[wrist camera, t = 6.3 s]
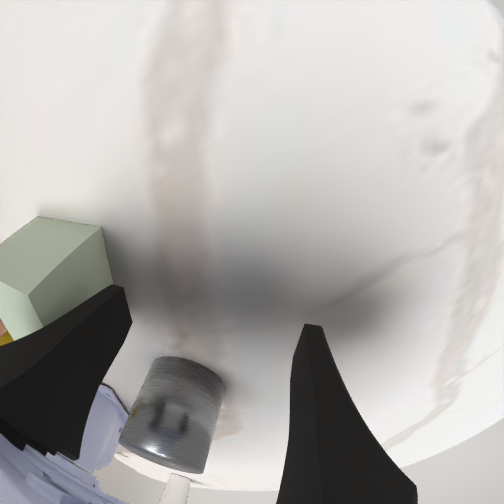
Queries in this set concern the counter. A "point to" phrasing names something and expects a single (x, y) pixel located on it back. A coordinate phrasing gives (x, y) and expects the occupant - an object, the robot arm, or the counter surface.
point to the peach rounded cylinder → (2, 329)
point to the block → (49, 272)
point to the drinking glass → (175, 490)
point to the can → (175, 415)
